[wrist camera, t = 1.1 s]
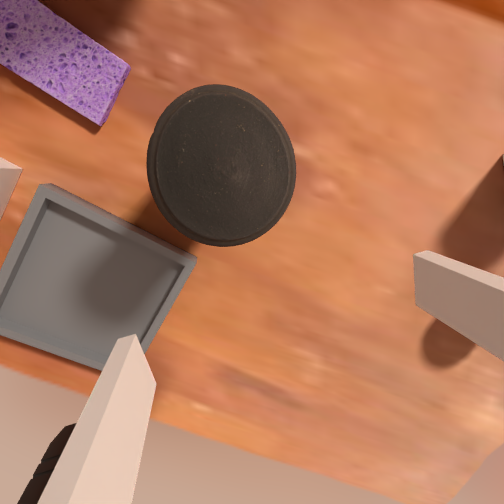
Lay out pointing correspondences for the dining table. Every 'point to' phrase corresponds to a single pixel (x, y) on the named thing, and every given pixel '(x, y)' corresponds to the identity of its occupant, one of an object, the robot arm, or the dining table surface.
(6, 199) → the light grey rectangular frame
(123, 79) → the sponges
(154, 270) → the slate tray
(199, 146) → the container
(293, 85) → the dining table surface
